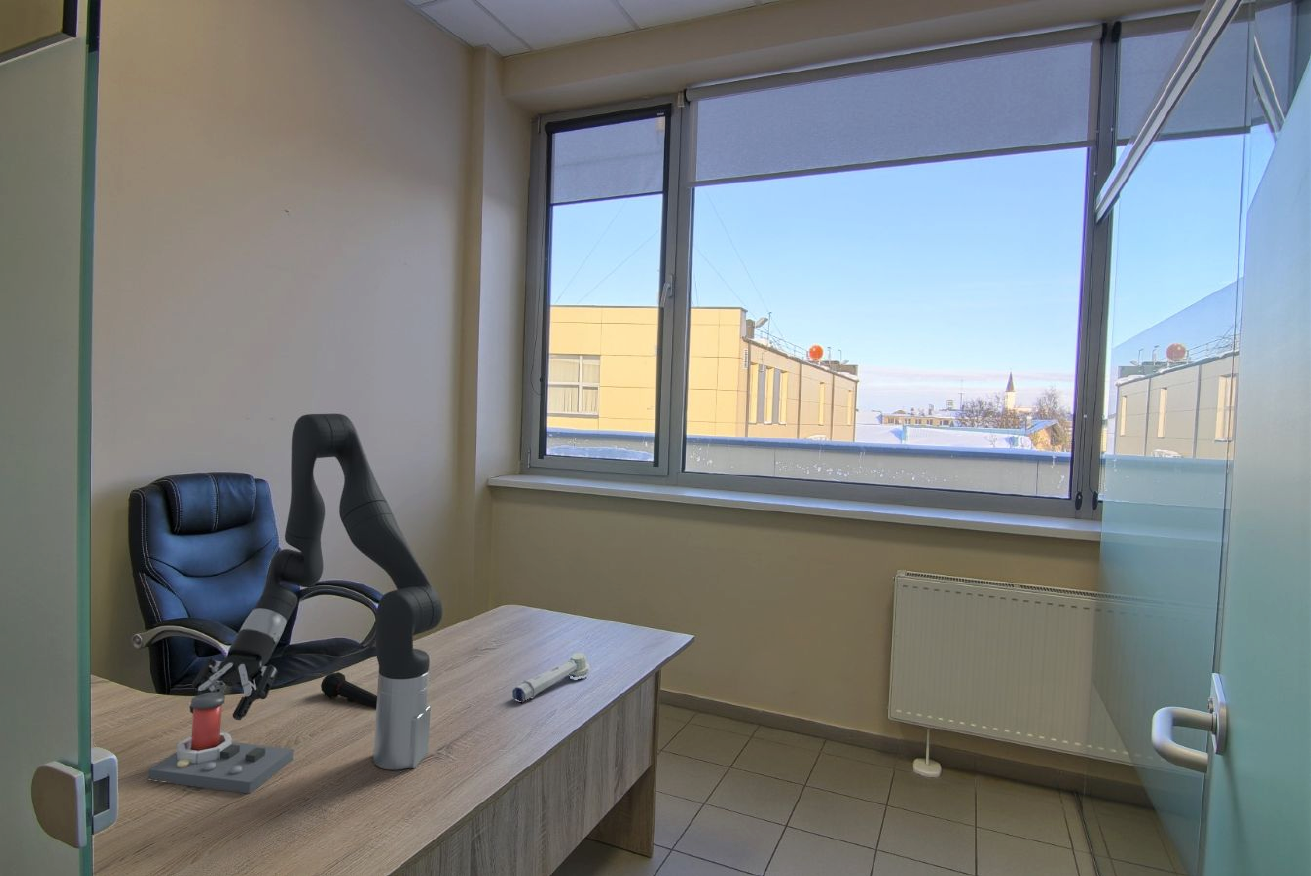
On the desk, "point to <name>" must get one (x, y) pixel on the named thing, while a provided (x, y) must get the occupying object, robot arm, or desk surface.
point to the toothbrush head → (551, 677)
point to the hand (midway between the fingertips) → (214, 716)
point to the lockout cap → (206, 720)
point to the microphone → (346, 690)
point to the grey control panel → (222, 765)
